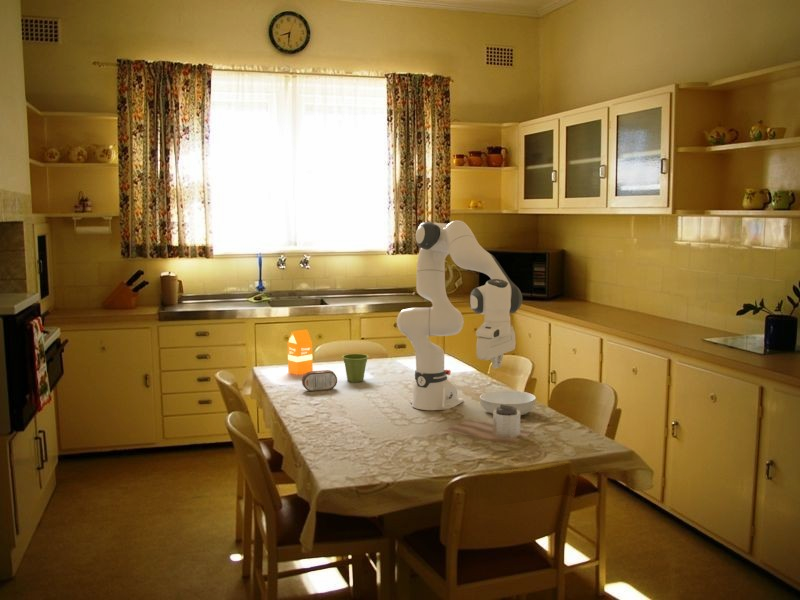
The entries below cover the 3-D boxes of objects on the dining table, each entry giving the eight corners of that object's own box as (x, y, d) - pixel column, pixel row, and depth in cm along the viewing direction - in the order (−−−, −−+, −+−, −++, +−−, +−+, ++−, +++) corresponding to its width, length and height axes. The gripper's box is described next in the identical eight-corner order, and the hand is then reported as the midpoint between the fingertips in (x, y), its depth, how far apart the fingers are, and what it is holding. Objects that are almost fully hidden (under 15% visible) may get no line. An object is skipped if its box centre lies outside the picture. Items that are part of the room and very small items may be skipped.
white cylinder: (501, 429, 259) (501, 406, 258) (524, 434, 254) (525, 410, 252) (487, 435, 252) (488, 412, 251) (511, 440, 246) (511, 417, 245)
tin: (336, 388, 326) (336, 368, 325) (338, 389, 323) (337, 370, 322) (302, 391, 321) (301, 371, 320) (303, 392, 318) (303, 373, 317)
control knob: (502, 416, 257) (502, 401, 256) (520, 419, 253) (520, 404, 252) (492, 421, 251) (492, 405, 251) (510, 424, 247) (510, 409, 247)
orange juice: (288, 372, 357) (287, 330, 354) (303, 369, 363) (302, 328, 360) (297, 374, 351) (296, 332, 349) (313, 371, 357) (312, 330, 355)
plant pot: (344, 384, 332) (344, 359, 330) (340, 378, 343) (340, 354, 342) (371, 382, 334) (370, 358, 333) (366, 377, 346) (365, 353, 344)
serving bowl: (524, 405, 295) (524, 388, 294) (543, 420, 275) (544, 402, 274) (473, 408, 292) (473, 391, 291) (488, 423, 271) (488, 405, 270)
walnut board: (469, 423, 271) (469, 419, 271) (533, 436, 256) (533, 432, 255) (443, 434, 259) (443, 430, 259) (510, 448, 243) (510, 444, 243)
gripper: (504, 321, 263) (504, 360, 266) (473, 332, 247) (472, 372, 250) (520, 323, 259) (519, 362, 262) (489, 334, 244) (489, 375, 246)
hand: (496, 367), depth 256 cm, fingers closed
